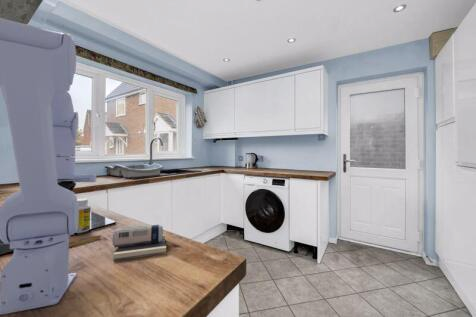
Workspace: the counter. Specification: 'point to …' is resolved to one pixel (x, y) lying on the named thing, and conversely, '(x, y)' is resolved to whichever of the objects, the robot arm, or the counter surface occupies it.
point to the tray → (140, 250)
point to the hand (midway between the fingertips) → (59, 212)
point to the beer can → (137, 235)
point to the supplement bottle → (83, 216)
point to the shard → (81, 240)
